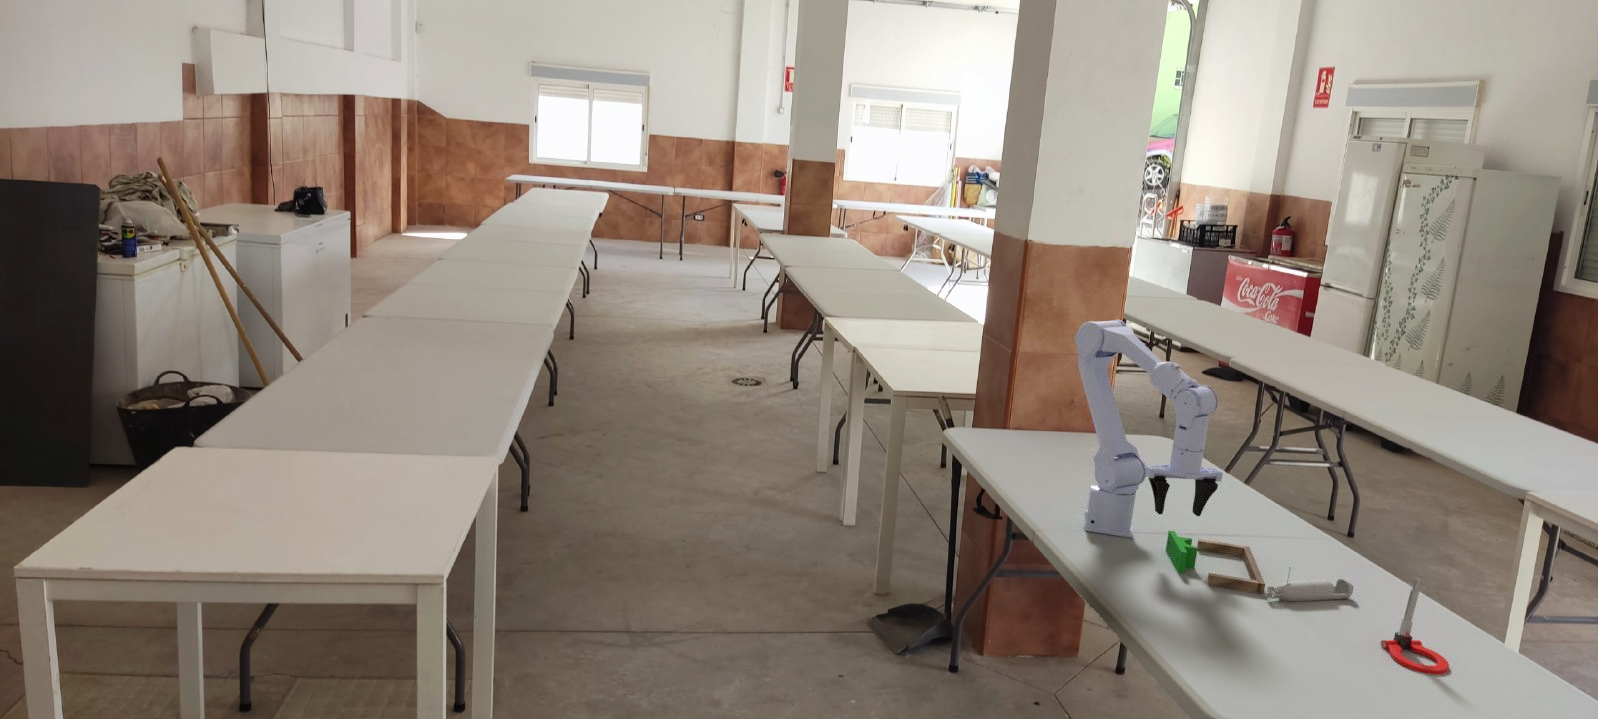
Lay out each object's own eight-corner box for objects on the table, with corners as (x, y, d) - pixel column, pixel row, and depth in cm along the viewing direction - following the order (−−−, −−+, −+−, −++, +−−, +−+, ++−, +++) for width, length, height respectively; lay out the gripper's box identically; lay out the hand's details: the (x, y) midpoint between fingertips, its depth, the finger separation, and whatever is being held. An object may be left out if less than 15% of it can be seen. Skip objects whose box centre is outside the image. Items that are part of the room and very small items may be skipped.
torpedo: (1338, 591, 200) (1345, 558, 198) (1357, 602, 195) (1364, 569, 194) (1256, 595, 195) (1263, 562, 193) (1274, 607, 190) (1280, 573, 189)
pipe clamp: (1197, 576, 202) (1201, 554, 201) (1177, 574, 202) (1181, 551, 201) (1184, 553, 213) (1188, 532, 212) (1165, 551, 213) (1168, 529, 212)
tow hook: (1459, 676, 170) (1420, 646, 179) (1479, 604, 167) (1437, 576, 176) (1411, 677, 169) (1374, 646, 178) (1430, 603, 166) (1391, 576, 174)
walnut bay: (1207, 585, 197) (1209, 575, 197) (1196, 548, 215) (1198, 538, 215) (1263, 594, 195) (1265, 584, 195) (1247, 555, 213) (1249, 546, 213)
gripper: (1160, 451, 201) (1149, 519, 204) (1233, 455, 203) (1222, 522, 206) (1145, 440, 208) (1135, 506, 211) (1217, 444, 209) (1206, 509, 212)
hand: (1177, 513), depth 209 cm, fingers open, 7 cm apart
